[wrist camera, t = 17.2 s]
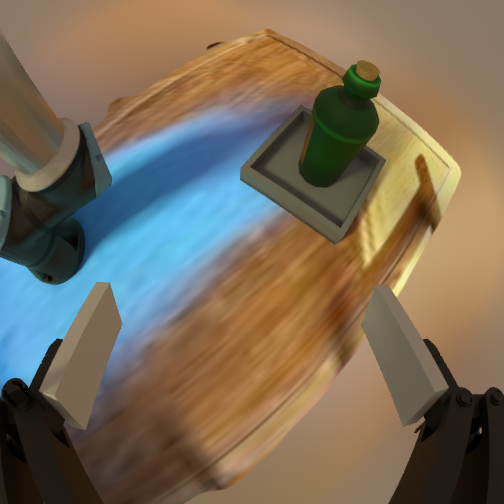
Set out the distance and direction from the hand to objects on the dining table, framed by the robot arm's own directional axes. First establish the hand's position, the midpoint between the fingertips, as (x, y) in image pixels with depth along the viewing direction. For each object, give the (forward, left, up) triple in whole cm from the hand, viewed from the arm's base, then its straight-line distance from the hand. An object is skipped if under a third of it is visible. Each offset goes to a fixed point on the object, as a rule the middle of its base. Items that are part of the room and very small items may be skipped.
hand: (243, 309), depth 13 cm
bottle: (-4, +33, -34) cm, 48 cm away
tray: (-5, +33, -35) cm, 49 cm away
